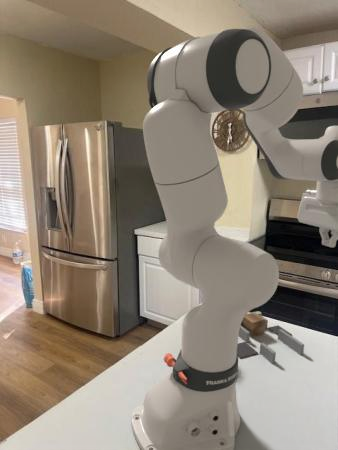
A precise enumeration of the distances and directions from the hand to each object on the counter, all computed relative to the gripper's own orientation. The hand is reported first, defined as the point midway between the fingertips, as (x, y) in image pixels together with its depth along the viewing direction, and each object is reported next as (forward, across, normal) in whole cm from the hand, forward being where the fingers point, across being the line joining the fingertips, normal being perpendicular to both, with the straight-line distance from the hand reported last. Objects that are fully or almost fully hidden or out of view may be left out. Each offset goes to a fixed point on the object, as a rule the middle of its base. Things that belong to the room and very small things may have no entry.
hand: (328, 246), depth 87 cm
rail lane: (+31, -10, -9) cm, 34 cm away
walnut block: (+31, -16, -9) cm, 36 cm away
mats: (+31, -11, -10) cm, 34 cm away
